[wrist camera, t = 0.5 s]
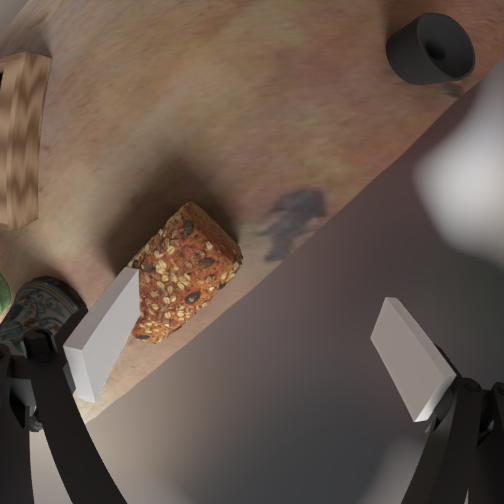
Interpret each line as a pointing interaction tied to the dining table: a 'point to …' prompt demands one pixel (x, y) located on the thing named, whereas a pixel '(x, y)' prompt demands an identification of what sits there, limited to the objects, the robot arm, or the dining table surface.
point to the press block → (21, 135)
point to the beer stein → (38, 317)
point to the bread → (181, 271)
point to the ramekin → (4, 295)
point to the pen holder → (431, 51)
